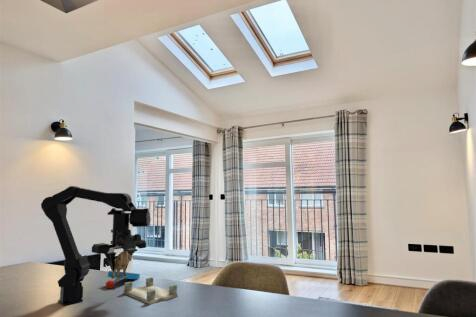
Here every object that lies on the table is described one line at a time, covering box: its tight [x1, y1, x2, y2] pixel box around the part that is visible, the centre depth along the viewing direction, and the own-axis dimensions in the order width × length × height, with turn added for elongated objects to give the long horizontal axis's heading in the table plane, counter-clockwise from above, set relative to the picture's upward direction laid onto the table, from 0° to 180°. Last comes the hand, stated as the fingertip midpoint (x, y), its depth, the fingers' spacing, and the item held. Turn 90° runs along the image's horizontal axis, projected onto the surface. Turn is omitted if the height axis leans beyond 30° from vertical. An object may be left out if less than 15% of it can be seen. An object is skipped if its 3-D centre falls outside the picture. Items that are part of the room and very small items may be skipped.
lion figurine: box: [110, 250, 133, 280], centre depth 118 cm, size 15×5×9 cm, turn 46°
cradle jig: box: [123, 276, 178, 305], centre depth 124 cm, size 12×19×4 cm, turn 47°
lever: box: [105, 270, 141, 290], centre depth 140 cm, size 7×7×18 cm
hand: (119, 270), depth 117 cm, fingers closed on lion figurine, 4 cm apart
